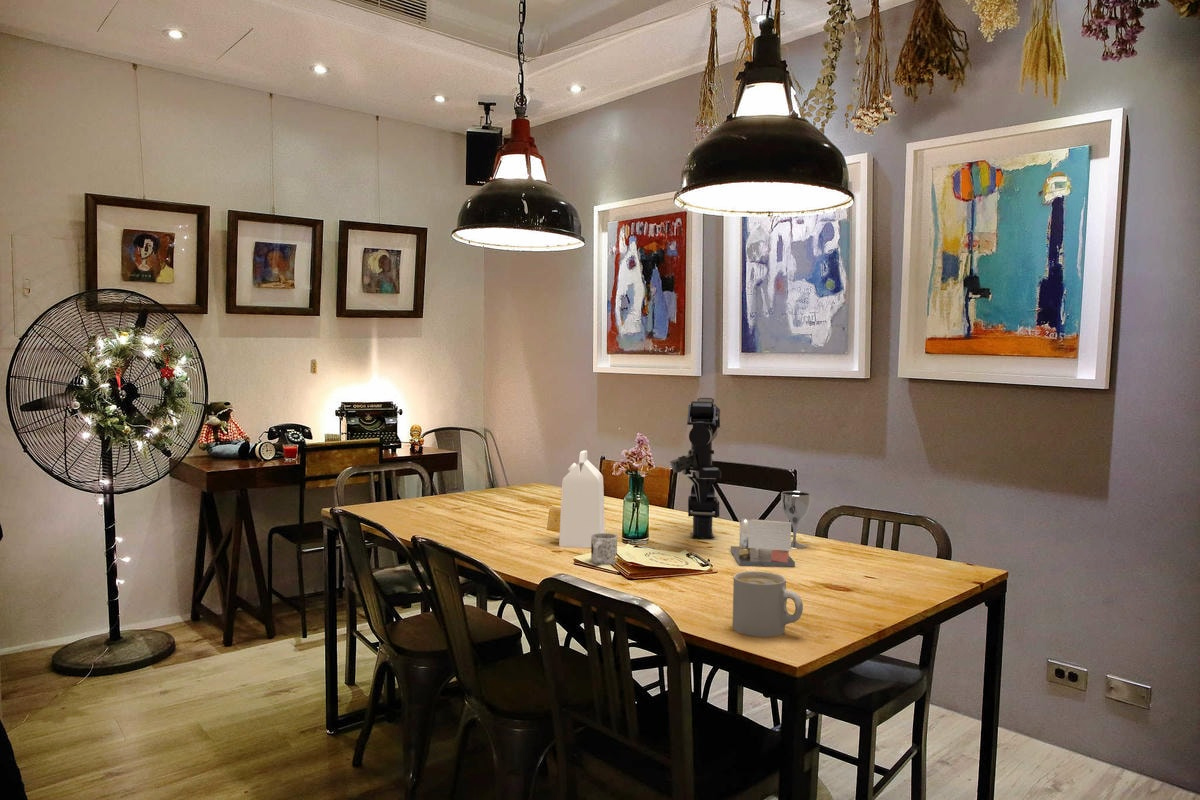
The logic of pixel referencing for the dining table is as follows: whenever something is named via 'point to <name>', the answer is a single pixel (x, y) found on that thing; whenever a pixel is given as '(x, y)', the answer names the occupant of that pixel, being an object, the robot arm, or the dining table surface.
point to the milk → (581, 504)
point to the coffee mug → (762, 604)
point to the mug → (603, 548)
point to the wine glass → (795, 511)
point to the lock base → (762, 557)
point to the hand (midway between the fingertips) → (700, 502)
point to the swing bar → (765, 534)
